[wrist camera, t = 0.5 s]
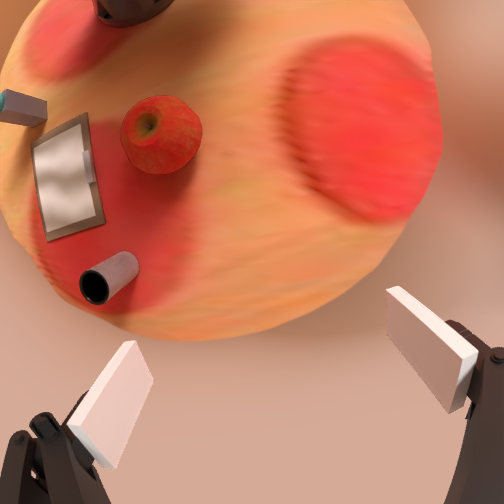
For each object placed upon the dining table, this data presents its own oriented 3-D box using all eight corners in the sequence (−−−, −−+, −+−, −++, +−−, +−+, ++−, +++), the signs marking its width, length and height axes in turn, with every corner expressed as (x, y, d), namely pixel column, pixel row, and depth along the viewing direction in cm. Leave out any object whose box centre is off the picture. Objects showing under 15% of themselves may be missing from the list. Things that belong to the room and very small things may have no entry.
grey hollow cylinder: (119, 245, 40) (84, 263, 30) (144, 260, 40) (114, 282, 30) (109, 270, 41) (75, 293, 31) (133, 284, 41) (103, 312, 31)
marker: (33, 110, 34) (-18, 98, 21) (46, 101, 34) (-5, 85, 21) (33, 127, 35) (-19, 118, 22) (47, 119, 35) (-6, 107, 22)
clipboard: (31, 142, 36) (27, 142, 34) (87, 112, 35) (83, 111, 34) (48, 241, 39) (44, 242, 38) (106, 222, 39) (102, 223, 38)
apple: (218, 119, 36) (206, 97, 26) (186, 187, 38) (164, 187, 28) (154, 97, 35) (126, 73, 25) (125, 161, 37) (88, 156, 27)
